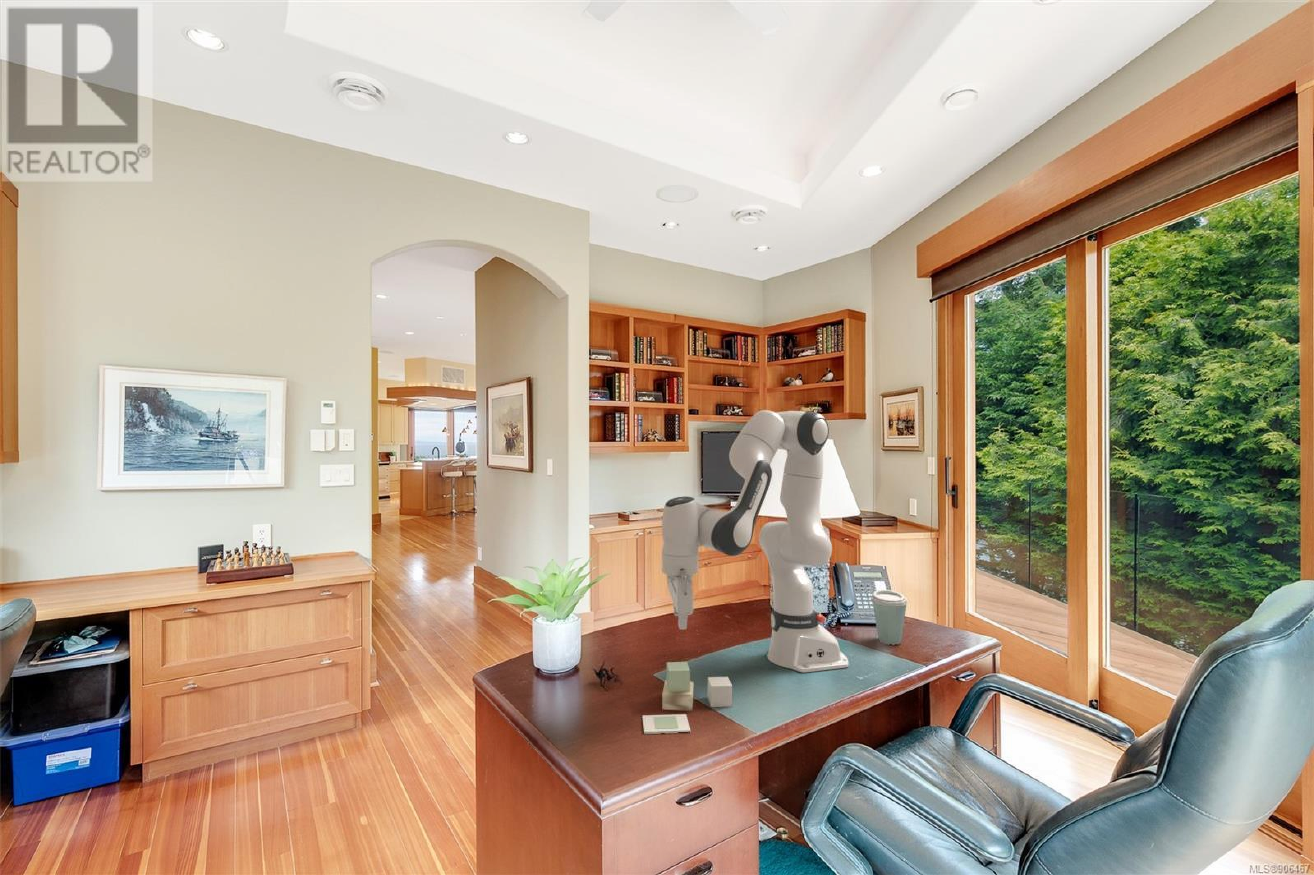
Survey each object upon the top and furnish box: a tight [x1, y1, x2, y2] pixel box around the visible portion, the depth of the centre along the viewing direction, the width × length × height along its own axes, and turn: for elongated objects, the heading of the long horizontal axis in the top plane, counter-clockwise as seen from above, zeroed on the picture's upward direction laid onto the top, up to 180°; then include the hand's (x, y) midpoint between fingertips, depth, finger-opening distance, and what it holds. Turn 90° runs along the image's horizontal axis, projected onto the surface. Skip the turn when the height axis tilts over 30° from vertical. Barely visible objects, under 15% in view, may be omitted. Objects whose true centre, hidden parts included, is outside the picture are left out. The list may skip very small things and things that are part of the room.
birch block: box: [661, 679, 695, 712], centre depth 133 cm, size 7×7×4 cm
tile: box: [642, 713, 691, 735], centre depth 122 cm, size 10×7×1 cm
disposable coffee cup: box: [870, 589, 908, 646], centre depth 174 cm, size 11×11×15 cm
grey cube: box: [707, 676, 733, 708], centre depth 134 cm, size 5×5×5 cm
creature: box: [592, 659, 624, 692], centre depth 142 cm, size 8×5×8 cm
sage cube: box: [666, 661, 691, 692], centre depth 133 cm, size 5×5×5 cm
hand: (680, 621), depth 134 cm, fingers open, 8 cm apart
